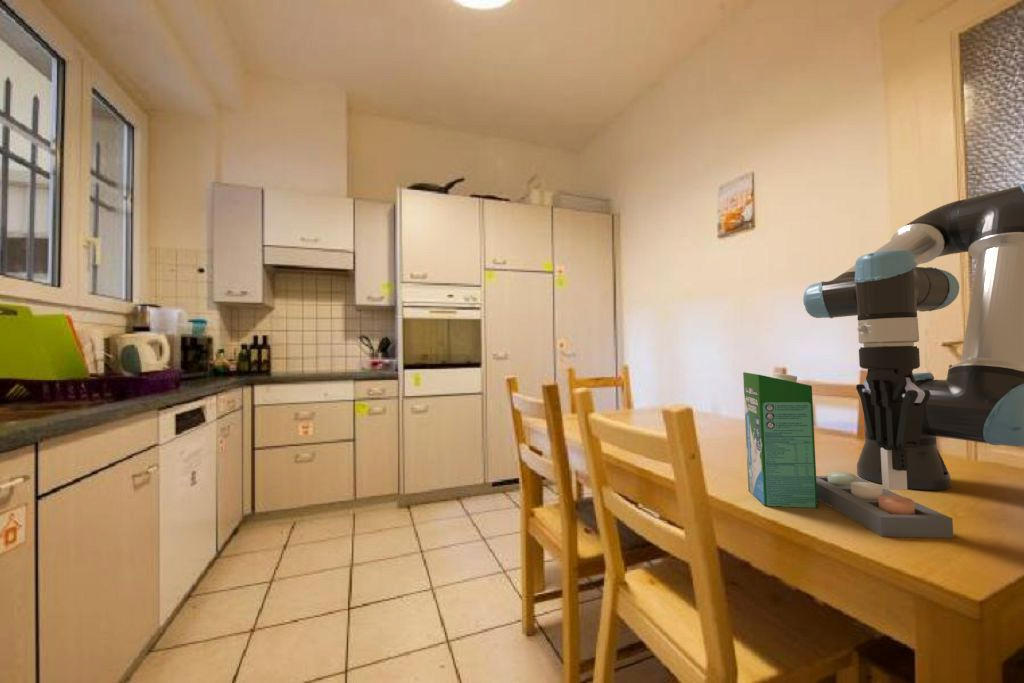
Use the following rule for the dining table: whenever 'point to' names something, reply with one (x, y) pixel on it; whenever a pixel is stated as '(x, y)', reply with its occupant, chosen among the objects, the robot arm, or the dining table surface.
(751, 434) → the milk carton
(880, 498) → the terracotta button
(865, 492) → the ivory button
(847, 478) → the sage button
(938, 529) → the grey button tray
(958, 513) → the dining table surface
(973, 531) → the dining table surface
